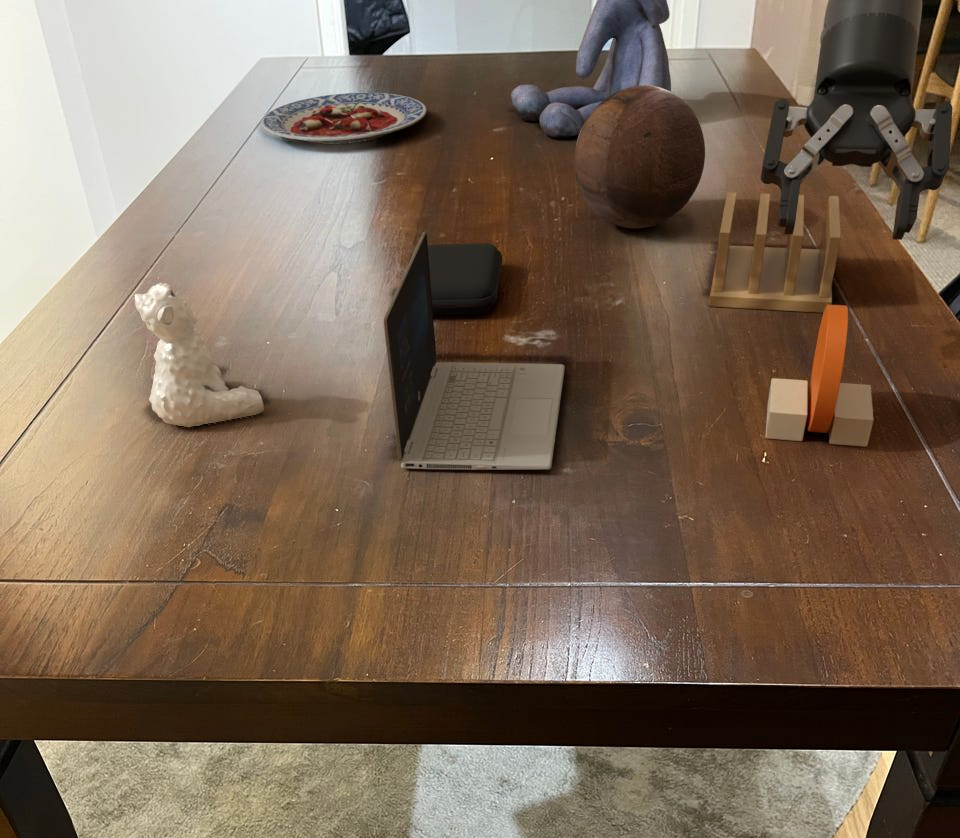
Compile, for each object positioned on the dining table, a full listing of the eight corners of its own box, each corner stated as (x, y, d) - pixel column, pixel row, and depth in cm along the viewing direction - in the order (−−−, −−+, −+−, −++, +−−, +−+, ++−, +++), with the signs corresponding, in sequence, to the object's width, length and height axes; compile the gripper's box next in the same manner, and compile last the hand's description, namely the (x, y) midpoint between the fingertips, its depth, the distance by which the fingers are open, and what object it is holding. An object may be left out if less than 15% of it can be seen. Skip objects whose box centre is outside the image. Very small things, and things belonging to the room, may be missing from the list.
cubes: (864, 411, 86) (870, 384, 85) (867, 447, 82) (873, 419, 80) (767, 404, 88) (771, 377, 86) (765, 438, 84) (769, 411, 82)
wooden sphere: (721, 217, 123) (736, 80, 113) (655, 257, 114) (665, 112, 104) (618, 196, 130) (623, 65, 120) (548, 231, 122) (548, 94, 112)
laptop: (550, 475, 81) (551, 320, 72) (398, 471, 83) (380, 318, 74) (564, 371, 94) (566, 230, 86) (433, 369, 96) (421, 230, 87)
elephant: (501, 110, 163) (497, -43, 150) (645, 92, 167) (654, -57, 154) (540, 144, 148) (539, -21, 134) (697, 124, 152) (712, -38, 139)
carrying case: (411, 266, 115) (393, 321, 104) (408, 239, 113) (390, 292, 102) (503, 264, 114) (496, 319, 103) (503, 237, 112) (495, 290, 101)
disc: (824, 398, 89) (846, 285, 82) (825, 455, 81) (850, 337, 75) (806, 396, 89) (827, 285, 82) (806, 453, 82) (829, 336, 75)
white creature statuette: (271, 412, 91) (245, 282, 83) (188, 449, 87) (152, 315, 79) (215, 379, 96) (185, 254, 88) (134, 413, 92) (95, 284, 84)
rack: (828, 260, 111) (841, 192, 106) (829, 313, 101) (843, 241, 96) (718, 255, 114) (725, 189, 109) (708, 306, 104) (716, 235, 99)
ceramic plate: (391, 157, 147) (389, 135, 145) (234, 149, 153) (230, 128, 151) (449, 110, 165) (448, 89, 163) (307, 104, 171) (304, 85, 169)
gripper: (783, 8, 80) (756, 207, 79) (975, 8, 77) (949, 214, 76) (775, 67, 87) (751, 249, 87) (950, 69, 84) (926, 257, 84)
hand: (843, 232), depth 82 cm, fingers open, 8 cm apart
